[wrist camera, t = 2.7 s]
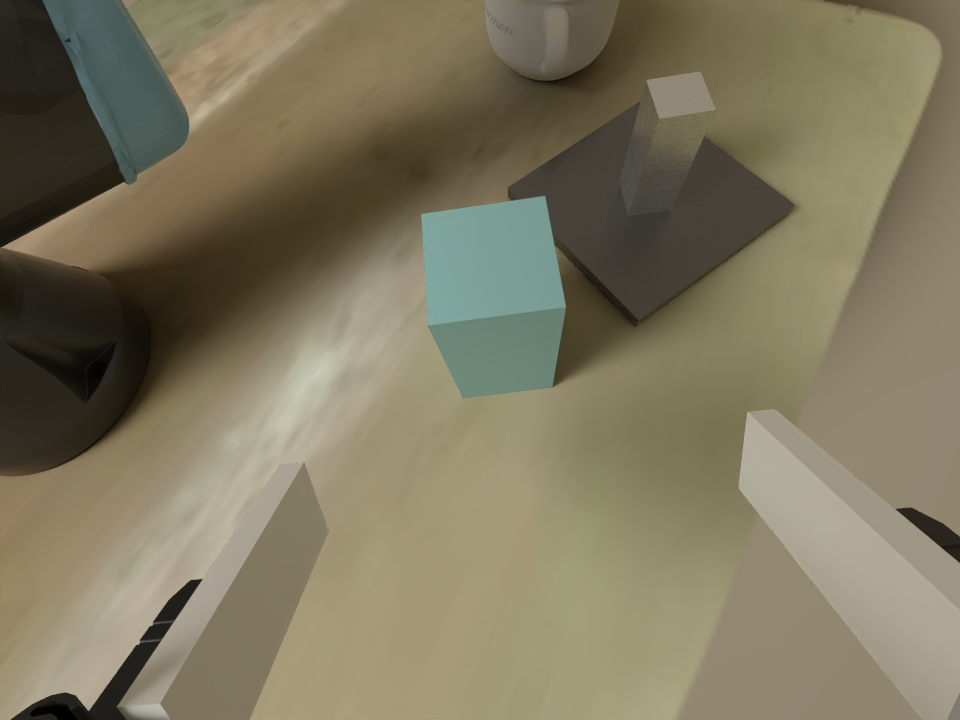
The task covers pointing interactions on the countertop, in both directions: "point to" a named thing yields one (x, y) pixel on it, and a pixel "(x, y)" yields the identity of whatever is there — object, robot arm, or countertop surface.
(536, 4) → the teacup
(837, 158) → the countertop surface
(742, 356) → the countertop surface
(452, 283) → the teal upright box
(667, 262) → the gray square peg stand
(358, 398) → the countertop surface
